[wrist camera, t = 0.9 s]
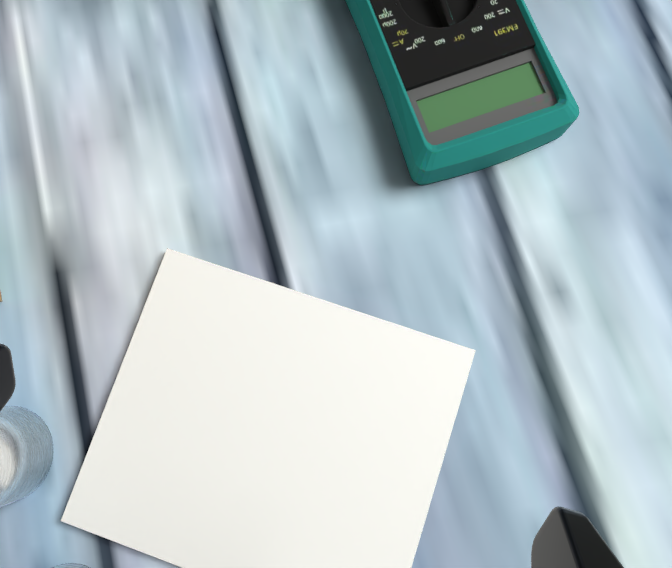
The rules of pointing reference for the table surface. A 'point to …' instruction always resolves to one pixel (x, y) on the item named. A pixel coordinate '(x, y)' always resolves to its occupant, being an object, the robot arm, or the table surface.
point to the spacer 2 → (70, 566)
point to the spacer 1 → (22, 453)
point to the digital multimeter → (463, 81)
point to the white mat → (268, 429)
